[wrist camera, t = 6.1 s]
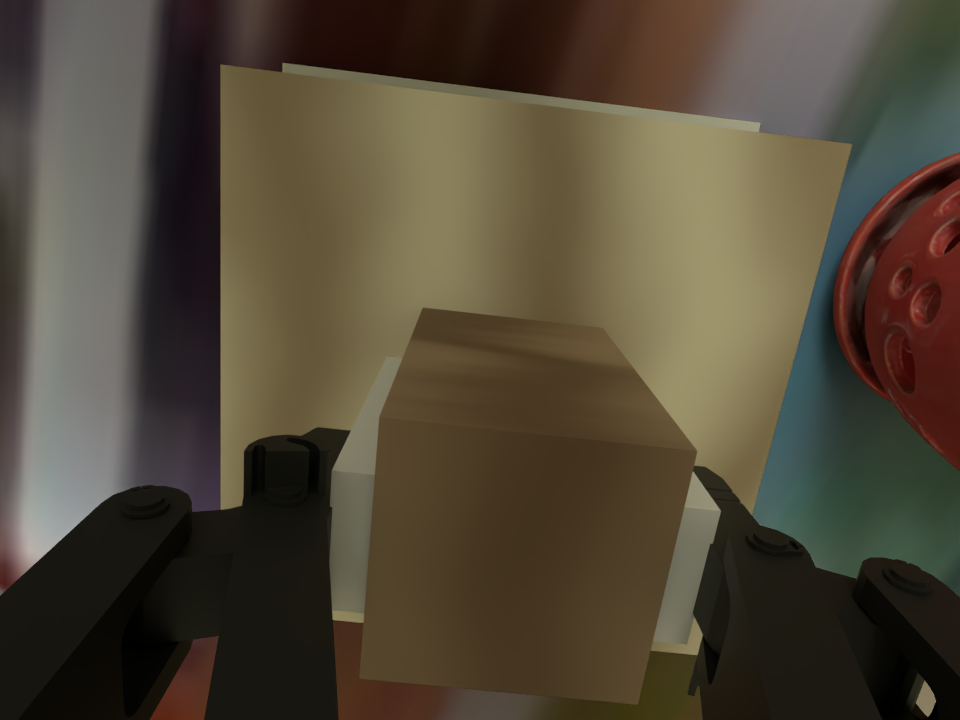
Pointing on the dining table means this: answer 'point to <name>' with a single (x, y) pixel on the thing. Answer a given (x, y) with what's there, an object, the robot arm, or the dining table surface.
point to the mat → (520, 97)
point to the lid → (513, 351)
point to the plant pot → (908, 302)
